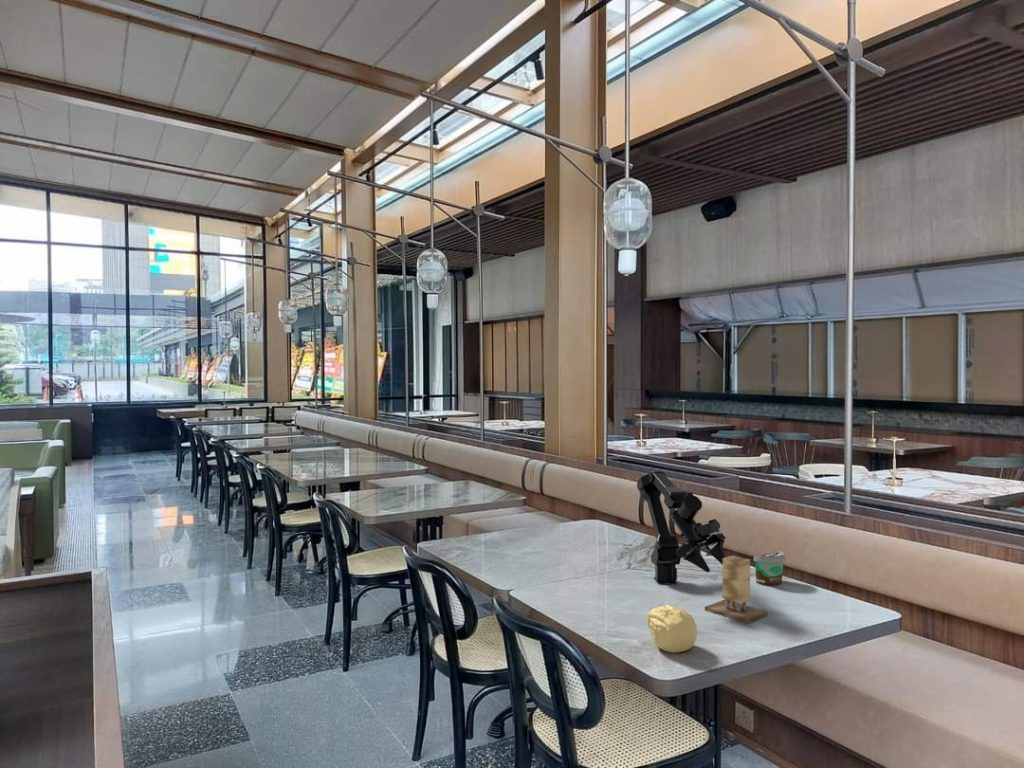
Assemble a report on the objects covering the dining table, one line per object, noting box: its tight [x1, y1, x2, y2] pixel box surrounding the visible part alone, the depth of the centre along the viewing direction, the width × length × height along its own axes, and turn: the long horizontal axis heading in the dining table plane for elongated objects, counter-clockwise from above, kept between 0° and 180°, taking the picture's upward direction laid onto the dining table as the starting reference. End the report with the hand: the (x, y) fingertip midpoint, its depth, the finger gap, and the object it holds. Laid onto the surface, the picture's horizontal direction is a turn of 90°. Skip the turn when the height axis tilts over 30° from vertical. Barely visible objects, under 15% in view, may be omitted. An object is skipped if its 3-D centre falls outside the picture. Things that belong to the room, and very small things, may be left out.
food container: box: [753, 550, 786, 587], centre depth 224 cm, size 12×6×10 cm, turn 117°
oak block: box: [721, 555, 751, 604], centre depth 197 cm, size 6×5×12 cm
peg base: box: [704, 599, 769, 625], centre depth 197 cm, size 14×11×4 cm
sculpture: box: [646, 604, 698, 654], centre depth 172 cm, size 12×12×11 cm
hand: (717, 568), depth 202 cm, fingers open, 9 cm apart
